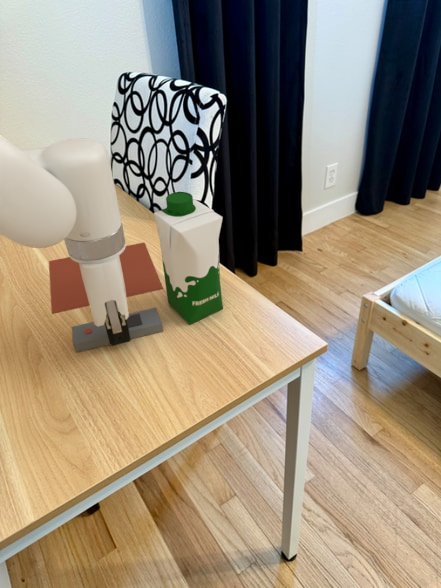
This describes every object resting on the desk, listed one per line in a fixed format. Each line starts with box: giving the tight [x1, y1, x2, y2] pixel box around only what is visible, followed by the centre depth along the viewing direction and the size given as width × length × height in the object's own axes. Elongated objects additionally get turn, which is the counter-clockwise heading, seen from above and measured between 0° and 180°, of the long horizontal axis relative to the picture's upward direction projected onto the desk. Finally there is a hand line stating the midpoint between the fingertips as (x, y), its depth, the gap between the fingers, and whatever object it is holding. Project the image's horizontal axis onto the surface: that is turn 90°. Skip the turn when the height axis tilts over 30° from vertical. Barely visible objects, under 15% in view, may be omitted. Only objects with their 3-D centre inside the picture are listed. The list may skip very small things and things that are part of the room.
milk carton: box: [153, 191, 224, 326], centre depth 69 cm, size 9×9×20 cm
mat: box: [48, 242, 164, 315], centre depth 84 cm, size 20×18×1 cm
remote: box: [71, 307, 164, 353], centre depth 70 cm, size 14×4×2 cm, turn 108°
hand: (120, 340), depth 67 cm, fingers closed
